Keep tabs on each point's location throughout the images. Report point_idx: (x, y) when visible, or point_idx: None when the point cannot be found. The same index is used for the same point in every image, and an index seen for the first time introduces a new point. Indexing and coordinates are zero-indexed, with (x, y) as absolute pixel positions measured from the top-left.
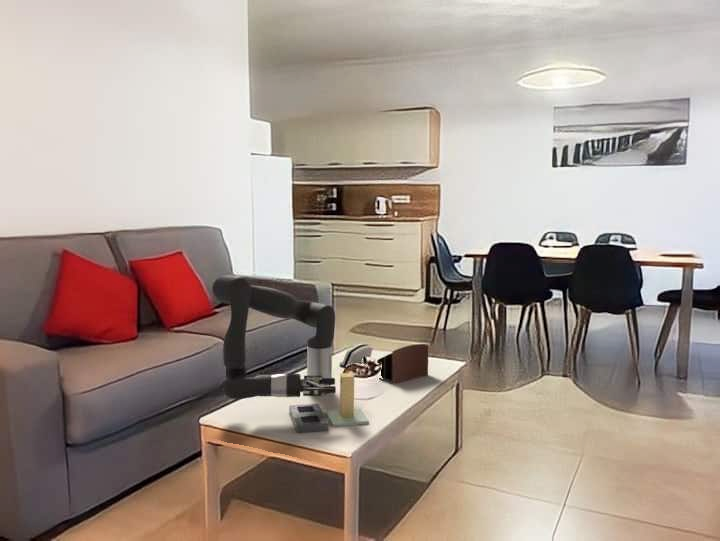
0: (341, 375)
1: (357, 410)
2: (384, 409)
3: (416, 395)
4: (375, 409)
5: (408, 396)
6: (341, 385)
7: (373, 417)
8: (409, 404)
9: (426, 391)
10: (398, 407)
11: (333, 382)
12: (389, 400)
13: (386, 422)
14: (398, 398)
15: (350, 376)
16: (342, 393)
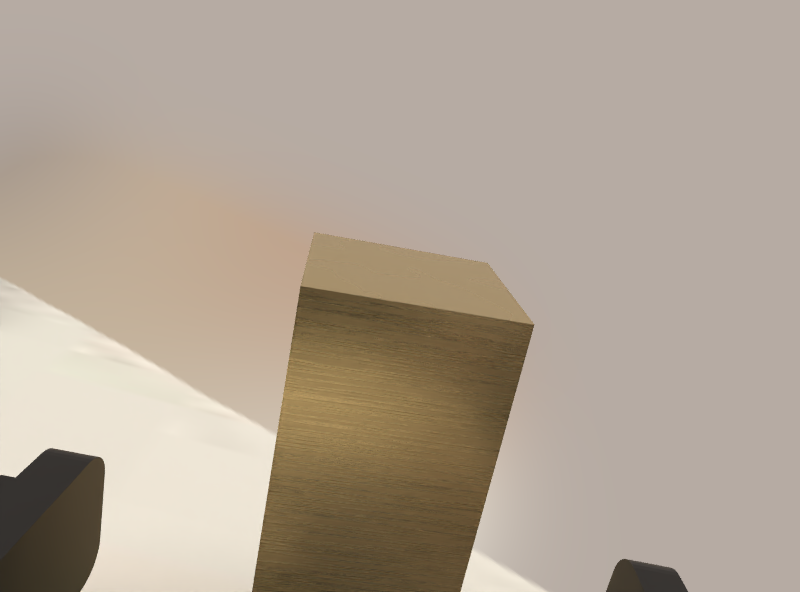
0: (441, 308)
1: None
2: (172, 468)
3: (34, 314)
4: (143, 509)
5: (21, 334)
6: (421, 478)
7: None
8: (152, 367)
9: (8, 282)
10: (173, 409)
11: (82, 543)
12: (14, 403)
13: None
14: (16, 367)
15: (484, 276)
16: (459, 579)
